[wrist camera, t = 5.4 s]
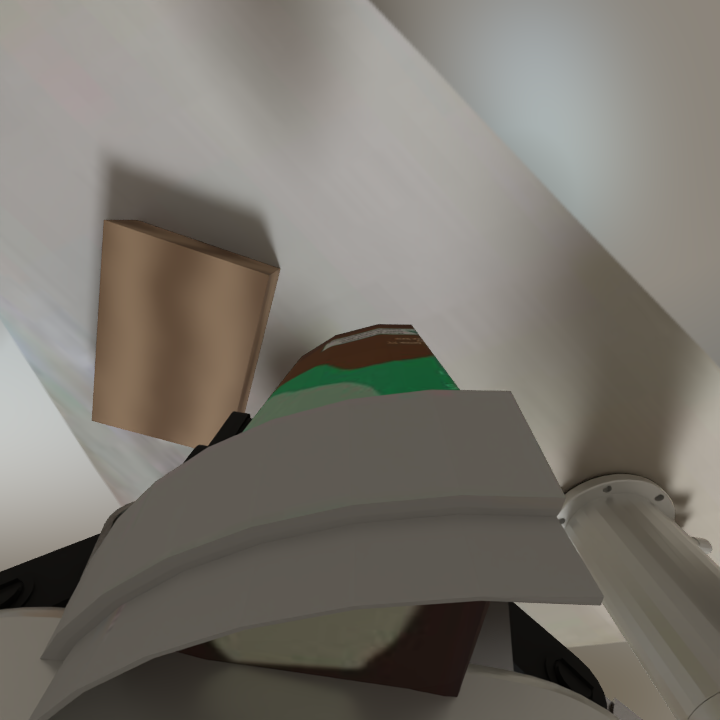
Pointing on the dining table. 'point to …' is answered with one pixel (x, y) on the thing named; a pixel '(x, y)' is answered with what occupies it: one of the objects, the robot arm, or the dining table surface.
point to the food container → (332, 533)
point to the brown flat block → (176, 332)
